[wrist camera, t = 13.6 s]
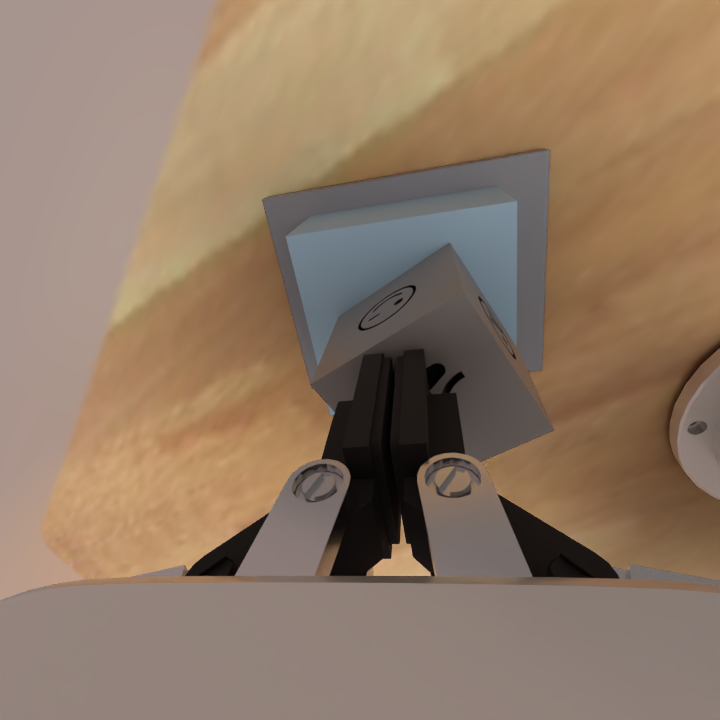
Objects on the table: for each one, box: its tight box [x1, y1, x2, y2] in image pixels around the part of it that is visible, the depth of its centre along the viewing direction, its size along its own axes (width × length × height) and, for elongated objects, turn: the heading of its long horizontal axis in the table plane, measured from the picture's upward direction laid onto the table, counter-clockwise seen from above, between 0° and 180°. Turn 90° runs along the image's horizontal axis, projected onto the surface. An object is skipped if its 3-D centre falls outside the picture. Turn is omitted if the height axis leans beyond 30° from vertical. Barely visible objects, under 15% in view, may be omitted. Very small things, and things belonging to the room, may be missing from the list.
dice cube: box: [310, 243, 554, 462], centre depth 14 cm, size 5×5×5 cm
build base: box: [262, 149, 550, 415], centre depth 18 cm, size 12×10×5 cm
